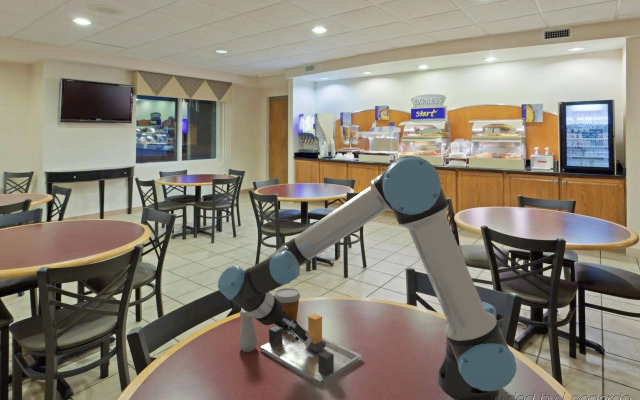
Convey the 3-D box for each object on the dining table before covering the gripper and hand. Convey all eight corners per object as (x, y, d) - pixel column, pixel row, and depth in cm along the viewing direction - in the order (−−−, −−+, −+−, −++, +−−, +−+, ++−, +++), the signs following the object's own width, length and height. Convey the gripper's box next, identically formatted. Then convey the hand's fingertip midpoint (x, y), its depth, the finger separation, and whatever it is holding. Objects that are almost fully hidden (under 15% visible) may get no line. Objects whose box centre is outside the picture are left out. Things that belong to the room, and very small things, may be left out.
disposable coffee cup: (302, 318, 142) (302, 288, 141) (298, 330, 133) (298, 298, 131) (277, 317, 143) (276, 287, 142) (271, 329, 134) (270, 297, 132)
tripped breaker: (325, 347, 118) (325, 317, 117) (316, 352, 115) (316, 321, 114) (314, 341, 122) (314, 312, 120) (305, 346, 119) (304, 316, 117)
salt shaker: (249, 342, 125) (248, 304, 123) (261, 348, 122) (260, 309, 120) (234, 349, 121) (233, 310, 119) (246, 355, 117) (245, 315, 115)
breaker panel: (361, 359, 114) (362, 339, 114) (319, 386, 102) (319, 363, 101) (302, 331, 132) (302, 313, 132) (260, 350, 120) (260, 331, 119)
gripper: (241, 311, 105) (288, 346, 119) (271, 326, 96) (318, 362, 110) (256, 288, 108) (300, 324, 122) (287, 300, 99) (330, 338, 113)
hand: (308, 342), depth 116 cm, fingers closed
